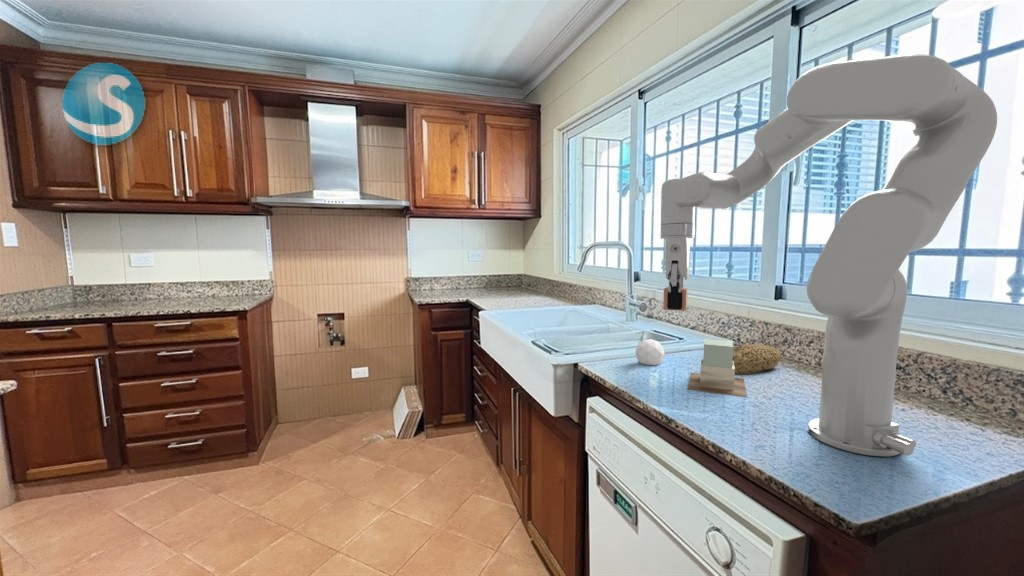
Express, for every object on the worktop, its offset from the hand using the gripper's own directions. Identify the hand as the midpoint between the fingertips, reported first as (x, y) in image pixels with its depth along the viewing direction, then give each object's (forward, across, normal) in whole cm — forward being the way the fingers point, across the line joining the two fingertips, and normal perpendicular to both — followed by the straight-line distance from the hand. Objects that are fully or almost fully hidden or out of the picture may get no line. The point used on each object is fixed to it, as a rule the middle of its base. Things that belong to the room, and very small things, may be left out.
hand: (675, 306), depth 99 cm
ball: (+19, +13, +8) cm, 24 cm away
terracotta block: (+1, 0, 0) cm, 1 cm away
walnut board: (+19, +1, -10) cm, 21 cm away
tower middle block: (+13, +1, -10) cm, 16 cm away
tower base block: (+18, +1, -10) cm, 21 cm away
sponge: (+20, +22, -18) cm, 34 cm away
